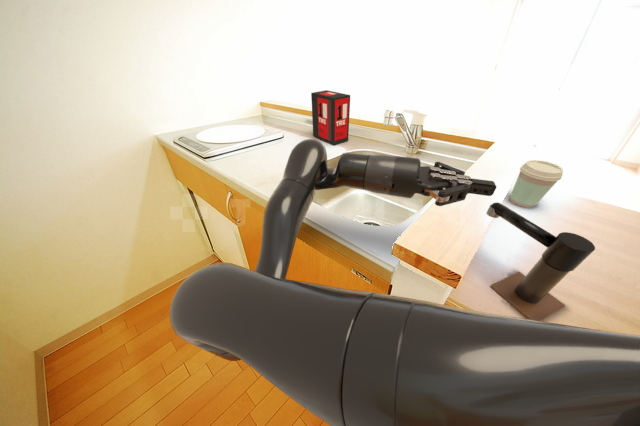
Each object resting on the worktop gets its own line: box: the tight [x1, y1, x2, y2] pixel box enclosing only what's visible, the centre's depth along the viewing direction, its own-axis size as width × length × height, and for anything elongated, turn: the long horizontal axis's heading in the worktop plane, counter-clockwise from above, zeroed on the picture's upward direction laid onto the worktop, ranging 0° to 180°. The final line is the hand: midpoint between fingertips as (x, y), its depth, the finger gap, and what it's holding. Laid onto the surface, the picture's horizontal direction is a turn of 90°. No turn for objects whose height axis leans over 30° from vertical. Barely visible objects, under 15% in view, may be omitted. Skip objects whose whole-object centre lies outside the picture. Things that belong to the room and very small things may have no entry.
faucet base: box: [489, 256, 571, 322], centre depth 39 cm, size 8×8×10 cm
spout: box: [486, 201, 596, 272], centre depth 39 cm, size 15×4×4 cm, turn 17°
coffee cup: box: [508, 159, 564, 209], centre depth 62 cm, size 9×8×12 cm
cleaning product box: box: [310, 89, 351, 146], centre depth 107 cm, size 16×9×20 cm, turn 37°
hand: (493, 188), depth 39 cm, fingers closed
